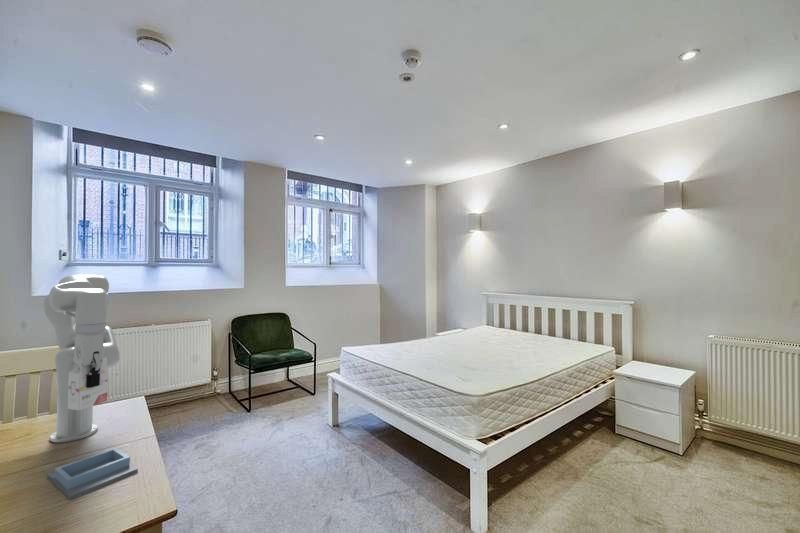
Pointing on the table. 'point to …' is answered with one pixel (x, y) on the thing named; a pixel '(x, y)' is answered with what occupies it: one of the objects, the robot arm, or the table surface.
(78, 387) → the ink cartridge box
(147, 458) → the table surface
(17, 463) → the table surface
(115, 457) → the dock
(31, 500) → the table surface
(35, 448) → the table surface
